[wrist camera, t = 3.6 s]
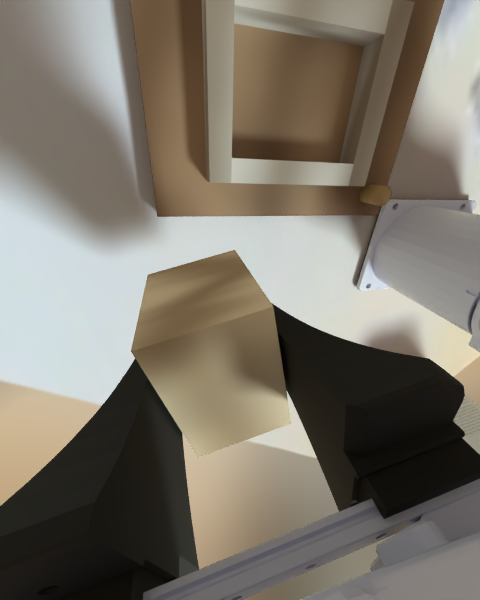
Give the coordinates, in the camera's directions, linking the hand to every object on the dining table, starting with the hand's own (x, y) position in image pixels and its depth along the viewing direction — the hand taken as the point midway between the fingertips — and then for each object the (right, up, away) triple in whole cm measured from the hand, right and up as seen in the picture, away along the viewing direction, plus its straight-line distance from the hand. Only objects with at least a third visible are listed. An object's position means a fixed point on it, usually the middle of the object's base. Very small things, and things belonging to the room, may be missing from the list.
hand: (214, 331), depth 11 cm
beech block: (0, +1, +1) cm, 2 cm away
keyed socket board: (+4, +13, +3) cm, 14 cm away
